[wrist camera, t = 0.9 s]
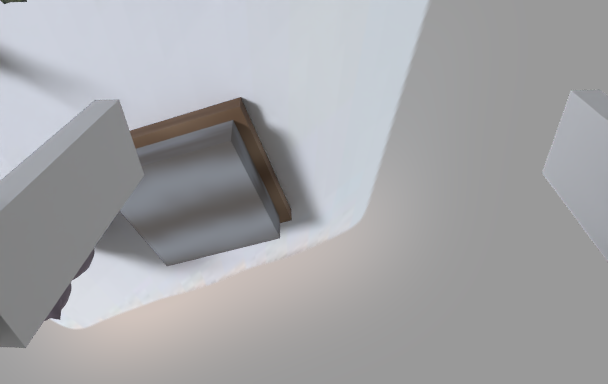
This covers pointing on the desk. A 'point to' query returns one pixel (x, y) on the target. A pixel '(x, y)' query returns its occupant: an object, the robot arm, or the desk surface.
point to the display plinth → (204, 185)
